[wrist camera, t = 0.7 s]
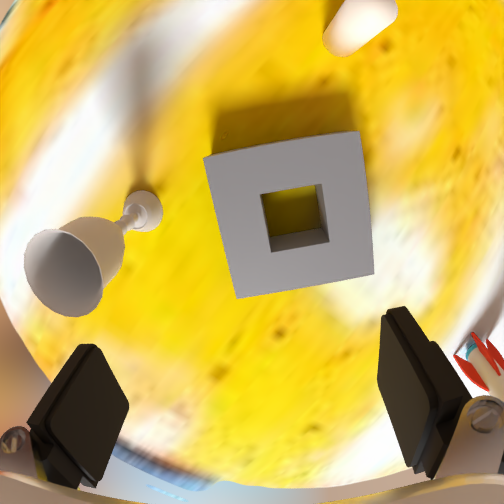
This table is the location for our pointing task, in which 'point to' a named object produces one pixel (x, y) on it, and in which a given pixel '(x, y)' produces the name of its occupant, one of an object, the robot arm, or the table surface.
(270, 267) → the socket block
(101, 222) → the chalice
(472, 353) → the toy rocket
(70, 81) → the table surface
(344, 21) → the peg
